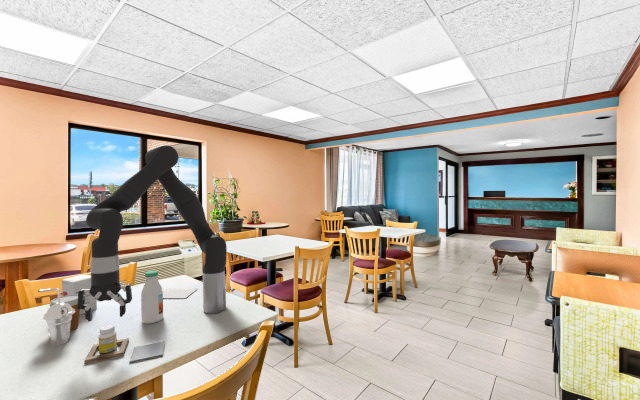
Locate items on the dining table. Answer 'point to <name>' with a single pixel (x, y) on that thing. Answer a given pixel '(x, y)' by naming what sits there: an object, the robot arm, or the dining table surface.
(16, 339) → the dining table surface
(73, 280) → the supplement box
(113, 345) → the supplement bottle
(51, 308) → the cup with straw
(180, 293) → the white flat square
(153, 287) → the milk bottle
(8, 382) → the dining table surface
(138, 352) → the coaster
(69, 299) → the disposable coffee cup
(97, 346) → the wooden square frame
